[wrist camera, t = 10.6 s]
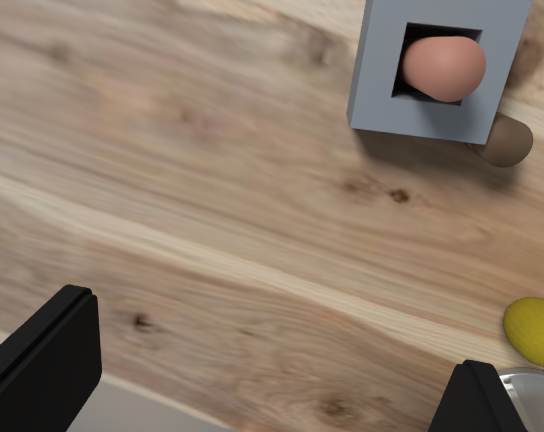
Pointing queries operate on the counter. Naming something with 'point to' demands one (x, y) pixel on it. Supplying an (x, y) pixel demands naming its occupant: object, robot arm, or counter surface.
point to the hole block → (418, 106)
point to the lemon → (526, 328)
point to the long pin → (442, 66)
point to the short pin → (505, 142)
